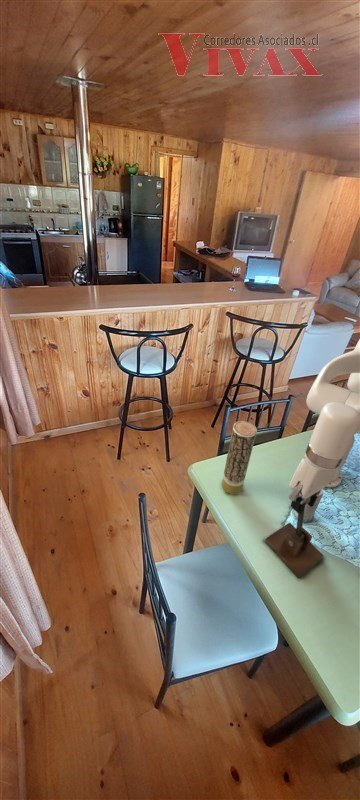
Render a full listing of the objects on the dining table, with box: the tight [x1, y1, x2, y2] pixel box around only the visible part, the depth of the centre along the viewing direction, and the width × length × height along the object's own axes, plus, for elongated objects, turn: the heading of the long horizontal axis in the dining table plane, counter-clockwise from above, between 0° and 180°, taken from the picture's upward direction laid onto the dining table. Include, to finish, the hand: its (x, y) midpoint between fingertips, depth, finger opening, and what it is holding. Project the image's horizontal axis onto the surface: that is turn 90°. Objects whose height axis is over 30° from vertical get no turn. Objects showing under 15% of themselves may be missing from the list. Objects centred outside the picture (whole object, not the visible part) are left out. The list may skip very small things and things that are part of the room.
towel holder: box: [264, 522, 325, 579], centre depth 89 cm, size 12×10×7 cm
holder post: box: [293, 494, 311, 544], centre depth 85 cm, size 17×4×4 cm
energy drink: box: [293, 488, 324, 523], centre depth 98 cm, size 5×5×12 cm
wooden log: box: [221, 420, 258, 495], centre depth 102 cm, size 7×7×25 cm
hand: (301, 505), depth 84 cm, fingers closed on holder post, 3 cm apart
